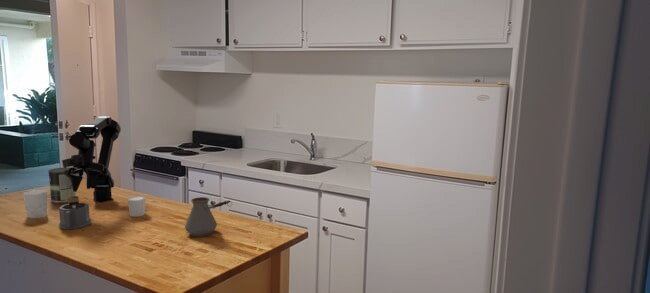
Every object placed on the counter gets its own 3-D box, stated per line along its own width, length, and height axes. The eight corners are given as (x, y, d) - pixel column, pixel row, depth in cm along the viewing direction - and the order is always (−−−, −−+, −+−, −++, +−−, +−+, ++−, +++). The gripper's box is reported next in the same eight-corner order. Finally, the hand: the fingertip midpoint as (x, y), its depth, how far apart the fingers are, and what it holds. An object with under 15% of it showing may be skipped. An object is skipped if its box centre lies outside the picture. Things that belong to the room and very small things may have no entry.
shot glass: (124, 215, 182) (123, 199, 181) (137, 211, 189) (136, 195, 187) (137, 217, 180) (136, 201, 179) (149, 213, 186) (149, 197, 185)
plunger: (68, 215, 173) (67, 195, 171) (87, 215, 174) (86, 194, 173) (61, 221, 166) (60, 200, 165) (81, 220, 167) (79, 199, 166)
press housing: (65, 220, 175) (64, 202, 174) (95, 219, 177) (94, 201, 176) (51, 231, 162) (50, 212, 161) (84, 230, 164) (82, 211, 163)
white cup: (52, 214, 182) (50, 191, 181) (33, 220, 175) (31, 195, 174) (40, 211, 186) (38, 188, 184) (21, 217, 178) (19, 193, 177)
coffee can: (47, 203, 198) (45, 172, 195) (54, 197, 207) (51, 168, 205) (73, 201, 201) (71, 171, 198) (78, 195, 210) (76, 167, 208)
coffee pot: (178, 234, 163) (177, 194, 160) (202, 225, 172) (201, 188, 170) (219, 247, 151) (218, 204, 149) (242, 237, 160) (242, 197, 158)
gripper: (53, 153, 182) (48, 190, 178) (80, 145, 174) (75, 184, 169) (80, 158, 192) (75, 194, 187) (106, 151, 183) (102, 188, 178)
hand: (81, 190), depth 180 cm, fingers open, 9 cm apart
